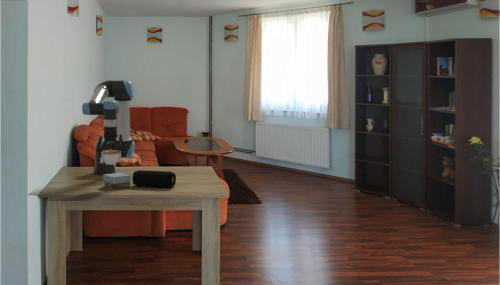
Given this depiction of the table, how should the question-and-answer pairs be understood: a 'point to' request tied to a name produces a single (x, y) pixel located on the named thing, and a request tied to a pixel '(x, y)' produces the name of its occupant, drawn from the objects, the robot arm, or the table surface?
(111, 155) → the lidded jar
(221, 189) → the table surface
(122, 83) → the robot arm
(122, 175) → the tower top
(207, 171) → the table surface
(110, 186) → the tower base
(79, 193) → the table surface
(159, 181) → the portable speaker
